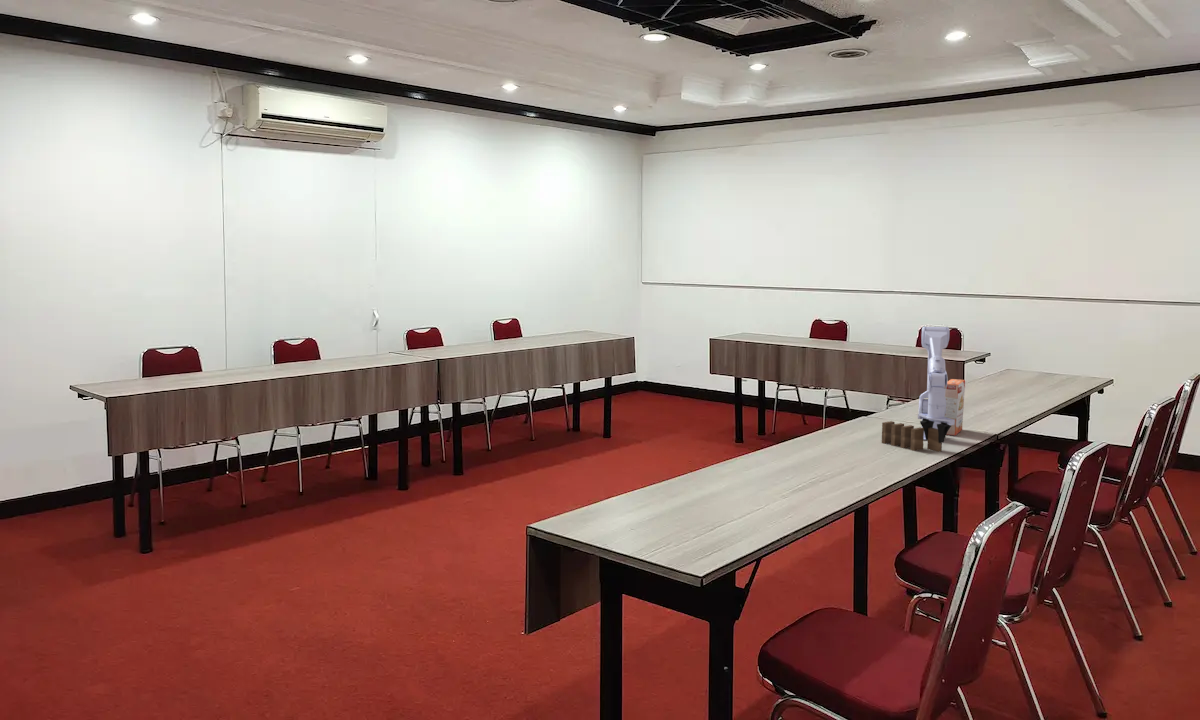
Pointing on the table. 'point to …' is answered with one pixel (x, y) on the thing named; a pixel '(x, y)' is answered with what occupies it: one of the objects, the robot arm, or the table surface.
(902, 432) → the domino
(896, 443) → the domino
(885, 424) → the domino
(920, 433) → the domino
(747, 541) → the table surface
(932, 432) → the domino
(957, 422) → the cracker box
